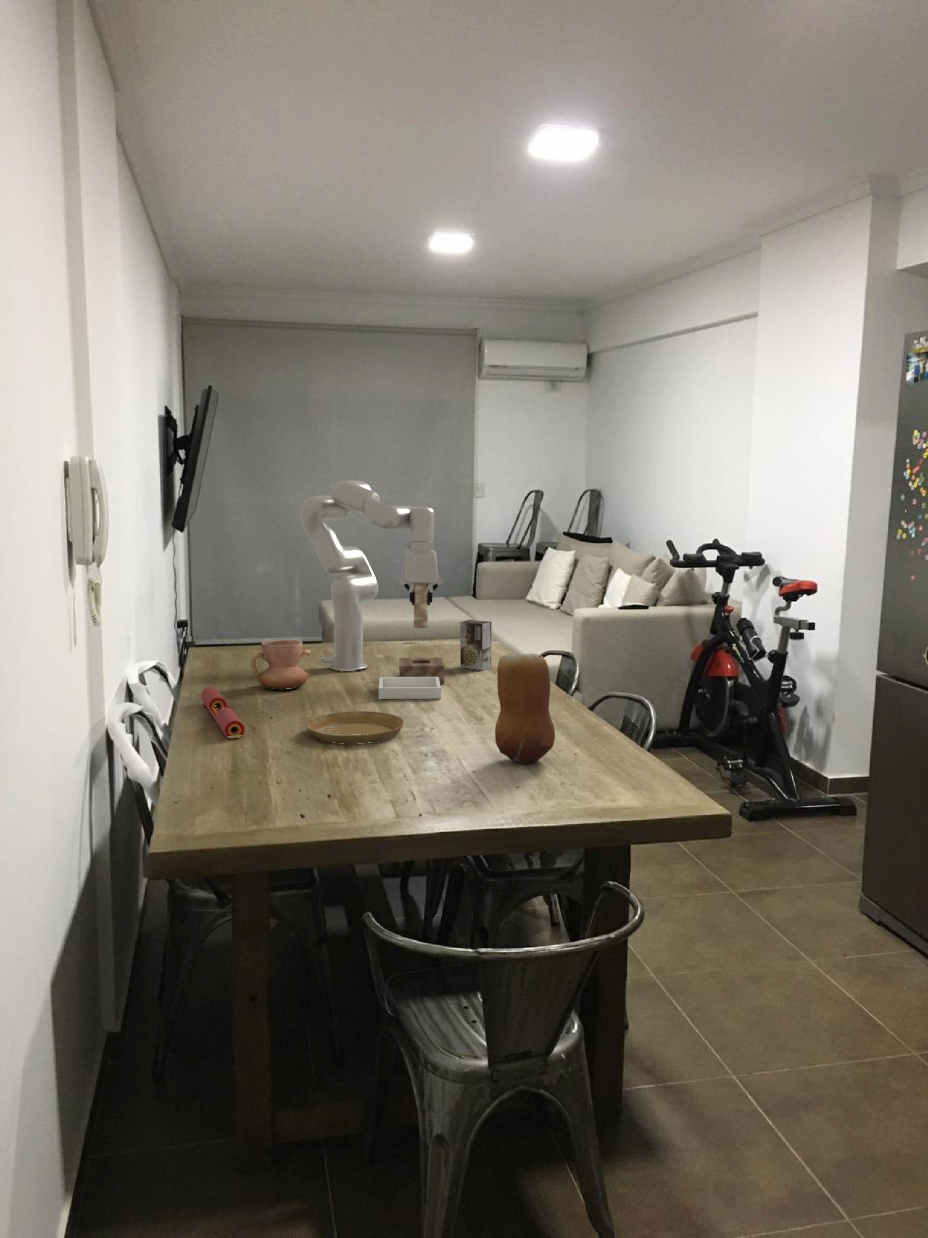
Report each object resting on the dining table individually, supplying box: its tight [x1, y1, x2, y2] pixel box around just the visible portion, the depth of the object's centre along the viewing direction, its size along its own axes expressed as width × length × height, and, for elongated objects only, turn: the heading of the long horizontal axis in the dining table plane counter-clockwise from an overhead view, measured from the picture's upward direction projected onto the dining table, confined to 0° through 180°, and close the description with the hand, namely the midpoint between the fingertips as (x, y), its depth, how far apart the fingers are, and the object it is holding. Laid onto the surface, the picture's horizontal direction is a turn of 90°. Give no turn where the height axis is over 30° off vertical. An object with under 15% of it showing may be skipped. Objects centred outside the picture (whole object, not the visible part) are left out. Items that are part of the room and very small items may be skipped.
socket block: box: [398, 657, 445, 685], centre depth 308 cm, size 14×14×6 cm
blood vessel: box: [200, 686, 246, 737], centre depth 255 cm, size 42×5×5 cm, turn 23°
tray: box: [378, 676, 442, 701], centre depth 288 cm, size 18×16×4 cm
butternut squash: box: [494, 652, 556, 765], centre depth 217 cm, size 14×13×25 cm
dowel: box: [413, 583, 429, 629], centre depth 305 cm, size 4×4×15 cm
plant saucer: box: [306, 710, 405, 745], centre depth 242 cm, size 24×24×3 cm
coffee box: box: [459, 619, 493, 671], centre depth 328 cm, size 9×6×16 cm
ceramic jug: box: [250, 639, 311, 690], centre depth 295 cm, size 18×14×14 cm
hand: (420, 604), depth 305 cm, fingers closed on dowel, 4 cm apart
